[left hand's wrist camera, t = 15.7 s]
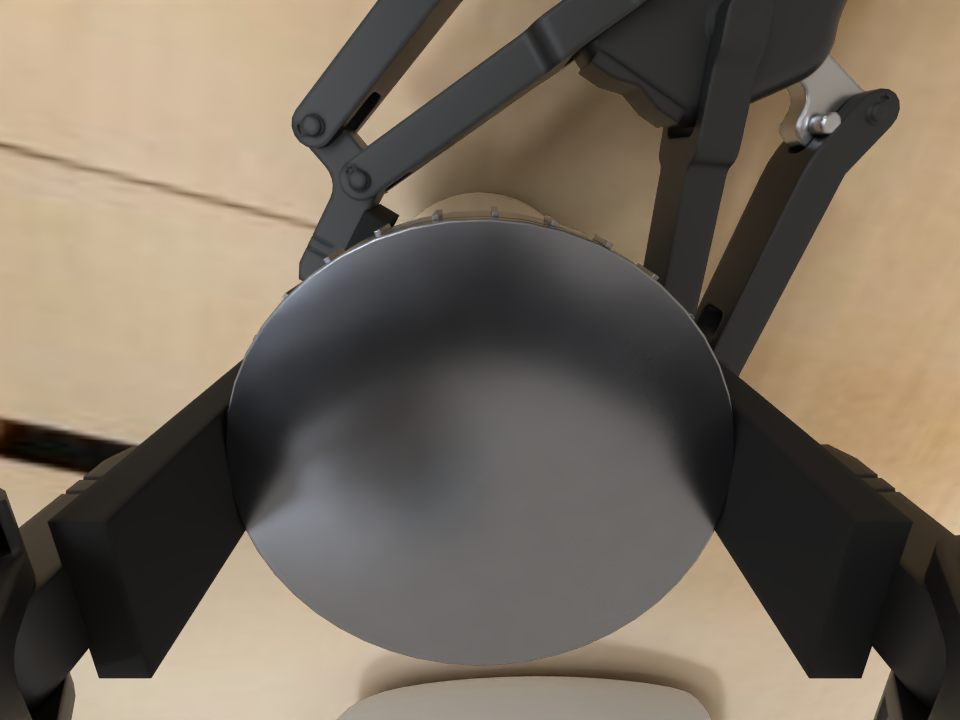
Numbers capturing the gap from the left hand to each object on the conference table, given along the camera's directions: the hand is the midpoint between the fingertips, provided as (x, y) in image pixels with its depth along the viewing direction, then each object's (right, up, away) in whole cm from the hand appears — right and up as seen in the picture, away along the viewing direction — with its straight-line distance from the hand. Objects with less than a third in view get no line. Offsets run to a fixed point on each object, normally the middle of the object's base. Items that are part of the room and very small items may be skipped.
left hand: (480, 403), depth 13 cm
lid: (0, -1, -3) cm, 3 cm away
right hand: (-2, -2, +7) cm, 7 cm away
